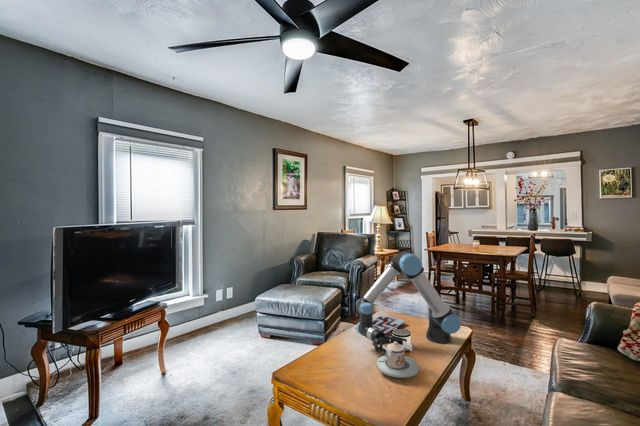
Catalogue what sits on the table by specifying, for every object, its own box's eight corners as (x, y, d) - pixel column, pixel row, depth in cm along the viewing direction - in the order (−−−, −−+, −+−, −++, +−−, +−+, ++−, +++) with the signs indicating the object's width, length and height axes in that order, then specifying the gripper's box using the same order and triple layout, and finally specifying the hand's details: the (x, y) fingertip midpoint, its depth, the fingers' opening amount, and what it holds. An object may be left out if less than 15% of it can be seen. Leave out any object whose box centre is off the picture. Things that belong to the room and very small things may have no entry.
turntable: (419, 360, 166) (419, 357, 166) (418, 381, 146) (418, 377, 146) (379, 354, 173) (379, 351, 173) (374, 373, 153) (374, 370, 153)
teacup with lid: (398, 371, 152) (397, 347, 152) (383, 364, 159) (382, 342, 159) (411, 362, 160) (411, 340, 160) (396, 356, 167) (396, 335, 167)
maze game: (379, 340, 198) (379, 335, 198) (355, 332, 211) (355, 327, 211) (406, 325, 223) (406, 320, 223) (382, 318, 237) (382, 314, 236)
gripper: (393, 338, 181) (420, 353, 162) (358, 347, 170) (382, 364, 151) (393, 325, 181) (420, 338, 162) (357, 333, 170) (381, 349, 151)
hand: (401, 351), depth 156 cm, fingers open, 13 cm apart
